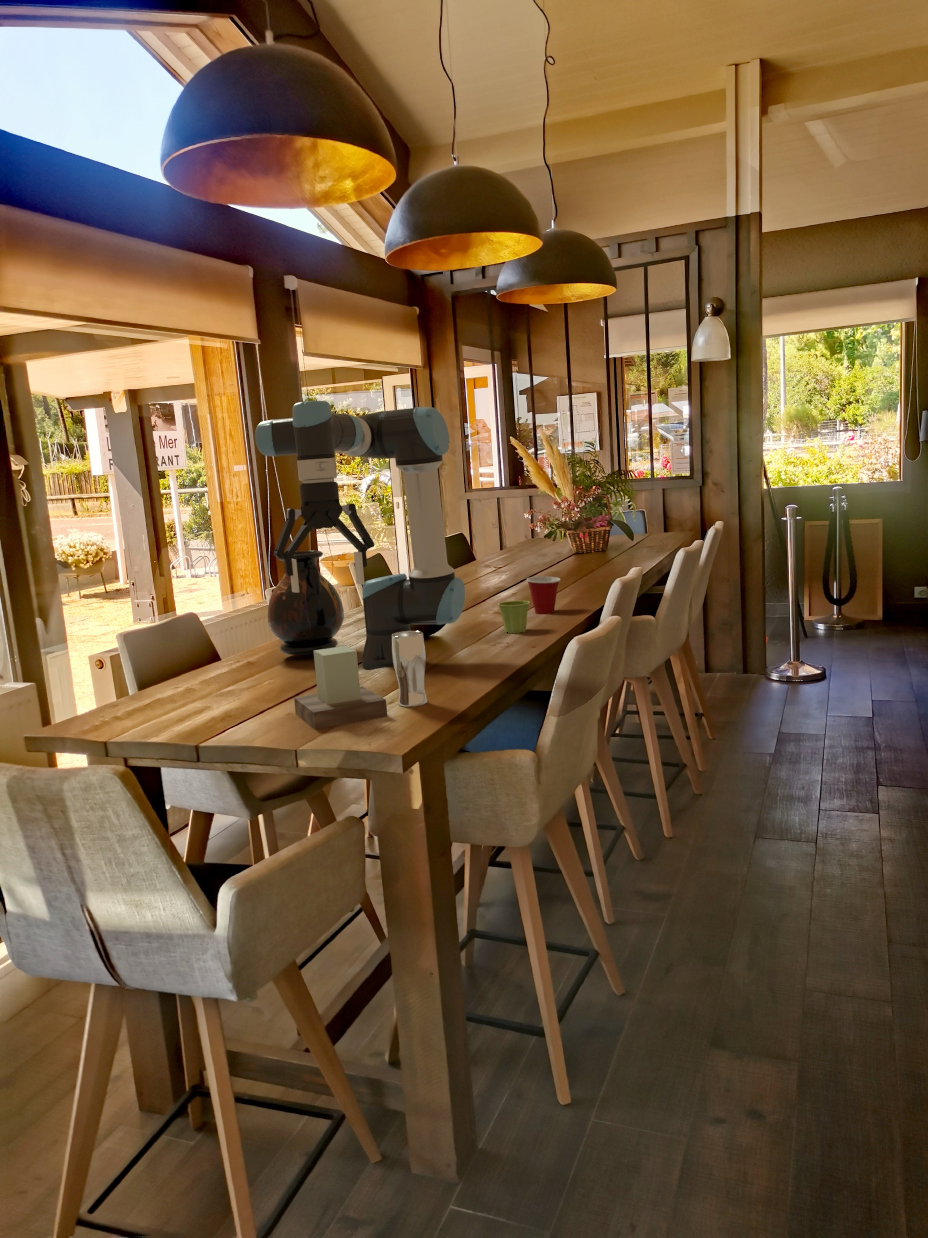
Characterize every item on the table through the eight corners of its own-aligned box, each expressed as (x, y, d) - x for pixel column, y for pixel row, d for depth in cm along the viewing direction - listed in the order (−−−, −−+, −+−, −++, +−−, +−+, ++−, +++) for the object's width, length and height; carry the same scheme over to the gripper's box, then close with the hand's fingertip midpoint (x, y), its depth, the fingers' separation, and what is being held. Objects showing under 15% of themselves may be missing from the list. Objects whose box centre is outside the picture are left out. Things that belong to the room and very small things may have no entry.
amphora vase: (360, 648, 264) (351, 549, 260) (290, 661, 252) (279, 558, 248) (326, 639, 282) (317, 547, 277) (259, 651, 270) (248, 555, 265)
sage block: (318, 697, 193) (313, 650, 191) (350, 692, 196) (346, 645, 194) (327, 704, 186) (322, 655, 185) (360, 699, 189) (356, 650, 188)
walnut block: (296, 716, 195) (294, 697, 195) (363, 704, 201) (362, 686, 201) (315, 732, 182) (313, 712, 181) (387, 718, 188) (385, 699, 187)
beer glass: (398, 700, 200) (392, 631, 198) (430, 698, 200) (424, 629, 198) (394, 708, 193) (388, 637, 191) (428, 706, 193) (422, 635, 191)
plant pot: (501, 630, 277) (499, 601, 276) (532, 628, 276) (531, 599, 274) (497, 635, 268) (496, 606, 267) (530, 634, 266) (528, 604, 265)
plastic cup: (550, 618, 291) (548, 580, 289) (522, 616, 298) (519, 579, 296) (568, 612, 300) (566, 575, 298) (540, 611, 306) (538, 575, 304)
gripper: (260, 485, 175) (272, 597, 179) (384, 476, 186) (393, 581, 189) (251, 486, 182) (262, 593, 185) (371, 477, 193) (380, 579, 196)
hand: (328, 588), depth 187 cm, fingers open, 13 cm apart
